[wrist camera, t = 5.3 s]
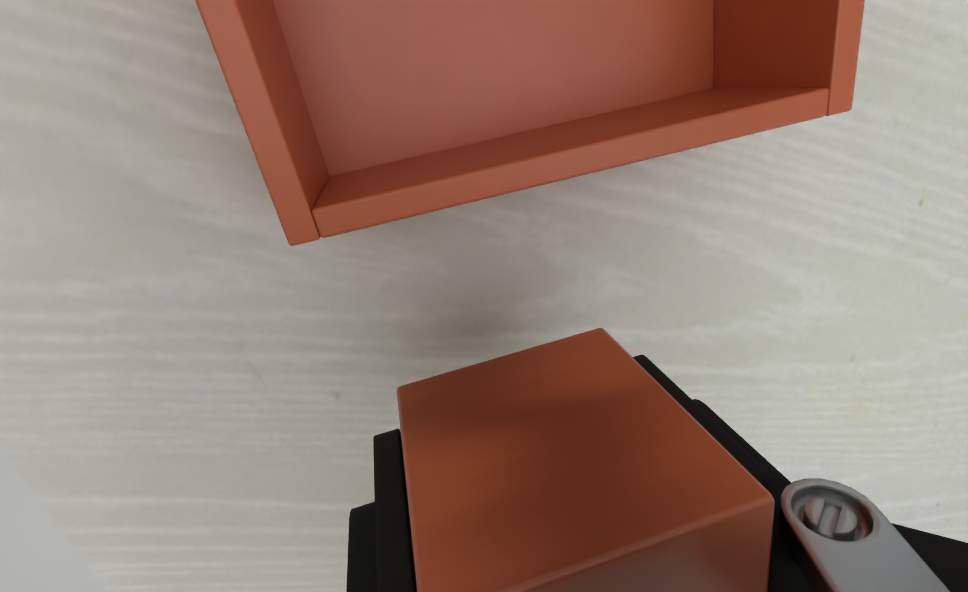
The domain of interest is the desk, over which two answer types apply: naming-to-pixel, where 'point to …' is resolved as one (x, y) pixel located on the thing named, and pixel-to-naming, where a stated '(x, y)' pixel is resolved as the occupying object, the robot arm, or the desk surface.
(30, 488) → the desk surface
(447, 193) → the terracotta bin
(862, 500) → the robot arm
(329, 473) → the desk surface
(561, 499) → the terracotta block
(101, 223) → the desk surface
